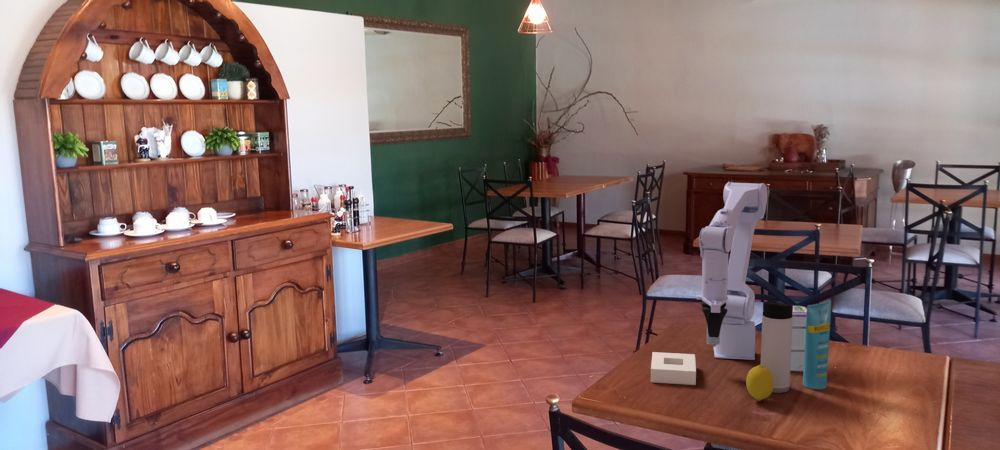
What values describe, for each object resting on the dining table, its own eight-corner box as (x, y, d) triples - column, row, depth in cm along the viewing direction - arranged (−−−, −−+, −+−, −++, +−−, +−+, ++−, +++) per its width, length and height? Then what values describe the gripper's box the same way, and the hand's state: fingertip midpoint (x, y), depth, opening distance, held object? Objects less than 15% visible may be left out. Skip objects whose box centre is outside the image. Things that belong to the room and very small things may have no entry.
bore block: (694, 367, 184) (694, 354, 184) (695, 385, 173) (696, 371, 172) (652, 364, 187) (652, 352, 186) (650, 382, 175) (650, 368, 175)
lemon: (776, 405, 160) (778, 369, 159) (750, 406, 160) (751, 369, 159) (768, 395, 166) (769, 360, 165) (742, 396, 166) (743, 360, 165)
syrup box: (809, 371, 180) (811, 312, 177) (782, 370, 181) (785, 311, 178) (803, 363, 185) (806, 305, 183) (778, 362, 186) (780, 304, 184)
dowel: (719, 341, 181) (720, 312, 179) (720, 345, 178) (720, 316, 177) (706, 340, 181) (706, 312, 180) (706, 344, 178) (707, 315, 177)
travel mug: (757, 391, 168) (760, 303, 165) (762, 381, 174) (765, 296, 171) (787, 395, 166) (791, 306, 162) (791, 385, 171) (795, 298, 168)
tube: (814, 392, 167) (818, 307, 164) (794, 386, 171) (798, 302, 168) (834, 385, 171) (838, 302, 168) (815, 379, 175) (819, 297, 172)
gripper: (696, 270, 185) (695, 324, 187) (697, 284, 171) (696, 343, 173) (726, 271, 183) (725, 326, 185) (730, 285, 169) (728, 344, 171)
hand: (713, 334), depth 179 cm, fingers closed on dowel, 3 cm apart
